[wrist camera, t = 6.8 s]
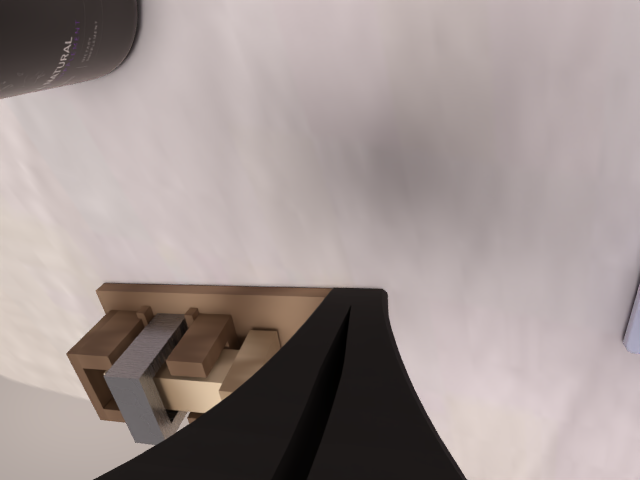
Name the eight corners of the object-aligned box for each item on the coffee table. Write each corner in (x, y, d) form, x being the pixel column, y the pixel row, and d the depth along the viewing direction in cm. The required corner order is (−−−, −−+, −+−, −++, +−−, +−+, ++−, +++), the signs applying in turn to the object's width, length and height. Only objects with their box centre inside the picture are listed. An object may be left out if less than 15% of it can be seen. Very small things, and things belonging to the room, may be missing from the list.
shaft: (276, 331, 23) (249, 393, 20) (286, 378, 25) (263, 443, 21) (136, 324, 25) (87, 379, 22) (153, 368, 27) (111, 426, 23)
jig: (381, 289, 22) (373, 351, 18) (387, 397, 26) (381, 468, 22) (104, 283, 26) (47, 332, 22) (144, 377, 30) (101, 434, 26)
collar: (187, 314, 25) (138, 379, 20) (207, 376, 27) (167, 446, 23) (157, 313, 25) (103, 376, 21) (179, 374, 27) (135, 442, 23)
